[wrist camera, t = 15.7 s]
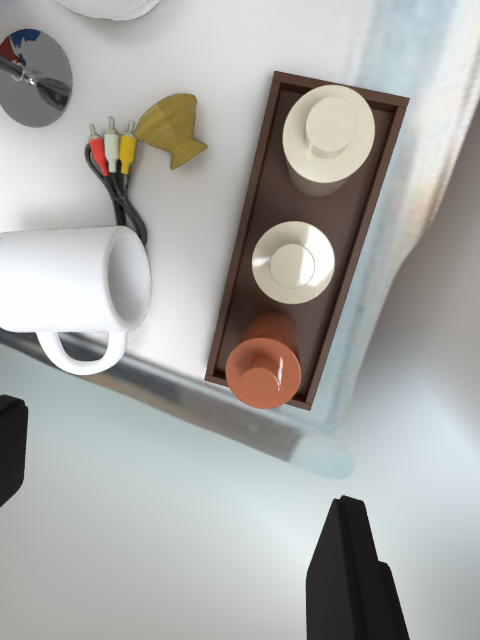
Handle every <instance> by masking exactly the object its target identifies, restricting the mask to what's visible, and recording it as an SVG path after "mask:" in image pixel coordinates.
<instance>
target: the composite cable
mask: <svg viewBox="0 0 480 640" xmlns="http://www.w3.org/2000/svg"><path fill="white" fill-rule="evenodd" d="M89 127H90V130H91V135H90V136H89V143H88V144H87V145H86V147H85V158H86V161H87V163H88V165H89V167H90V168H91V169H92V170H93V172H94V173H95V174H96V175H97V176H98V178H99V179H100V180H101V181H102V183H103V184H104V185H105V187H106V189H107V190H108V192H109V194H110V197H111V199H112V202H113V206H114V211H115V217H116V222H117V226H125V227H126V222H125V215H124V211H125V212H126V214H127V215H128V217H129V219H130V220H131V221H132V223H133V225H134V227H135V228H136V231H137V233H138V237H139V238H140V240H141V242H142V244H143V246H144V245H145V244H146V241H147V233H146V229H145V227H144V224H143V222H142V221H141V219H140V218H139V216H138V215H137V214H136V212H135V211H134V210H133V208H132V207H131V205H130V204H129V202H128V201H127V199H126V188H127V187H128V181H129V179H130V171H129V165H130V164H131V163H132V162H133V161H134V156H135V149H136V143H137V139H136V137H135V134H133V128H134V122H133V121H129V127H128V131H127V132H125V133H124V135H123V136H122V135H121V134H118V131H117V130H116V129H115V128H114V118H113V117H111V116H110V117H109V128H108V129H106V130H105V131H106V133H105V134H104V140H103V139H102V138H101V137H100V135H97V134H96V132H95V128H94V125H93V124H92V123H90V124H89ZM104 143H105V145H104ZM91 150H92V154H93V157H94V160H95V162H96V163H97V164H98V165H99V166H100V168H101V170H102V173H103V176H105V177H106V179H107V181H106V179H105V178H104V177H103V176H102V175H101V174H100V172H99V171H98V170H97V169H96V167H95V166H94V165H93V163H92V161H91V158H90V152H91Z"/></svg>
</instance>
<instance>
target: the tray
mask: <svg viewBox="0 0 480 640" xmlns="http://www.w3.org/2000/svg"><path fill="white" fill-rule="evenodd" d="M325 85H340V86H345V87H348V88H350V89H352V90H354V91H356V92H357V93H358V94H360V95H361V96H362V97H363V98H364V99H365V101H366V102H367V103H368V105H369V107H370V109H371V111H372V114H373V118H374V123H375V136H374V142H373V145H372V148H371V151H370V153H369V155H368V157H367V158H366V160H365V161H364V163H363V164H362V165H361V166H360V167H359V168H358V170H357V171H356V172H355V173H354V174H353V175H352V176H351V177H350V178H349V179H348V181H347V182H346V183H345V184H344V185H343V186H342V187H341V188H340V189H339V190H337V191H336V192H334V193H332V194H330V195H328V196H324V197H312V196H308V195H305V194H303V193H301V192H300V191H299V190H298V189H296V188H295V186H294V185H293V184H292V182H291V180H290V178H289V175H288V171H287V165H286V159H285V154H284V148H283V129H284V124H285V121H286V118H287V116H288V114H289V112H290V110H291V109H292V107H293V106H294V105H295V103H296V102H297V101H298V100H299V99H300V98H301V97H302V96H304V95H305V94H306V93H308V92H309V91H311V90H313V89H315V88H318V87H321V86H325ZM409 100H410V98H407V97H402V96H397V95H392V94H387V93H382V92H377V91H372V90H367V89H362V88H357V87H352V86H347V85H343V84H338V83H333V82H328V81H323V80H318V79H313V78H308V77H303V76H298V75H293V74H288V73H283V72H278V71H275V72H274V76H273V81H272V85H271V89H270V93H269V98H268V102H267V106H266V111H265V115H264V120H263V124H262V128H261V133H260V137H259V142H258V146H257V150H256V155H255V159H254V164H253V168H252V172H251V177H250V181H249V186H248V190H247V194H246V199H245V203H244V208H243V212H242V216H241V221H240V225H239V230H238V234H237V238H236V243H235V247H234V251H233V256H232V260H231V265H230V269H229V273H228V278H227V282H226V287H225V291H224V295H223V300H222V304H221V309H220V313H219V317H218V322H217V326H216V331H215V335H214V339H213V344H212V348H211V353H210V357H209V361H208V366H207V370H206V375H205V379H204V380H205V381H209V382H212V383H216V384H219V385H223V386H226V387H229V385H228V383H227V379H226V364H227V360H228V358H229V356H230V354H231V352H232V351H233V349H234V347H235V345H236V344H237V342H238V340H239V338H240V336H241V335H242V333H243V331H244V329H245V328H246V326H247V324H248V323H249V321H250V320H251V319H252V318H254V317H255V316H257V315H258V314H261V313H264V312H272V311H273V312H279V313H282V314H284V315H286V316H288V317H289V318H290V319H292V320H293V322H294V323H295V324H296V326H297V327H298V330H299V333H300V343H301V381H300V385H299V388H298V390H297V392H296V393H295V395H294V396H293V397H292V398H291V399H290V400H289V401H288V402H286V403H285V404H288V405H292V406H295V407H298V408H302V409H305V410H309V411H310V410H311V406H312V403H313V400H314V397H315V394H316V391H317V388H318V384H319V381H320V378H321V375H322V372H323V369H324V366H325V363H326V359H327V356H328V353H329V350H330V347H331V344H332V341H333V337H334V334H335V331H336V328H337V325H338V322H339V319H340V316H341V312H342V309H343V306H344V303H345V300H346V297H347V294H348V290H349V287H350V284H351V281H352V278H353V275H354V272H355V269H356V265H357V262H358V259H359V256H360V253H361V250H362V247H363V243H364V240H365V237H366V234H367V231H368V228H369V225H370V222H371V218H372V215H373V212H374V209H375V206H376V203H377V200H378V196H379V193H380V190H381V187H382V184H383V181H384V178H385V175H386V171H387V168H388V165H389V162H390V159H391V156H392V153H393V150H394V146H395V143H396V140H397V137H398V134H399V131H400V128H401V124H402V121H403V118H404V115H405V112H406V108H407V106H408V103H409ZM289 221H300V222H305V223H308V224H311V225H313V226H315V227H316V228H318V229H319V230H320V231H322V232H323V233H324V234H325V236H326V237H327V238H328V240H329V241H330V243H331V245H332V248H333V251H334V256H335V268H334V273H333V276H332V278H331V281H330V282H329V284H328V286H327V287H326V288H325V290H324V291H323V292H322V293H321V294H319V295H318V296H317V297H315V298H314V299H312V300H310V301H307V302H304V303H300V304H285V303H281V302H278V301H276V300H274V299H272V298H270V297H269V296H267V295H266V294H265V293H264V292H263V291H262V290H261V289H260V287H259V286H258V284H257V282H256V280H255V278H254V275H253V270H252V257H253V252H254V249H255V247H256V245H257V243H258V241H259V240H260V238H261V237H262V236H263V235H264V234H265V233H266V232H267V231H268V230H269V229H271V228H272V227H274V226H276V225H278V224H281V223H284V222H289ZM229 388H230V387H229Z"/></svg>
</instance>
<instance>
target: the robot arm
mask: <svg viewBox="0 0 480 640" xmlns="http://www.w3.org/2000/svg"><path fill="white" fill-rule="evenodd" d="M27 424H28V407H27V406H25V402H24V401H23V400H22V399H19V398H15V397H12V396H8V395H1V396H0V507H1V506H2V505H3V504H4V503H5V502H7V501H8V500H9V499H10V498H11V497H12V496H13V495H14V494H15V493H16V492H17V491H18V490H19V488H20V487H21V485H22V483H23V480H24V469H25V454H26V439H27ZM306 623H307V640H410V639H409V635H408V632H407V628H406V624H405V620H404V616H403V613H402V610H401V606H400V602H399V598H398V594H397V591H396V587H395V583H394V579H393V576H392V572H391V570H390V567H389V566H388V564H387V563H384V562H380V561H378V557H377V553H376V549H375V545H374V541H373V537H372V532H371V528H370V524H369V520H368V516H367V511H366V507H365V504H364V502H363V501H361V500H357V499H354V498H351V497H348V496H345V495H342V496H341V498H340V500H339V499H334V500H333V502H332V504H331V507H330V510H329V513H328V515H327V518H326V521H325V524H324V526H323V529H322V532H321V535H320V537H319V540H318V543H317V546H316V549H315V551H314V554H313V557H312V560H311V562H310V565H309V568H308V571H307V577H306Z"/></svg>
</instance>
